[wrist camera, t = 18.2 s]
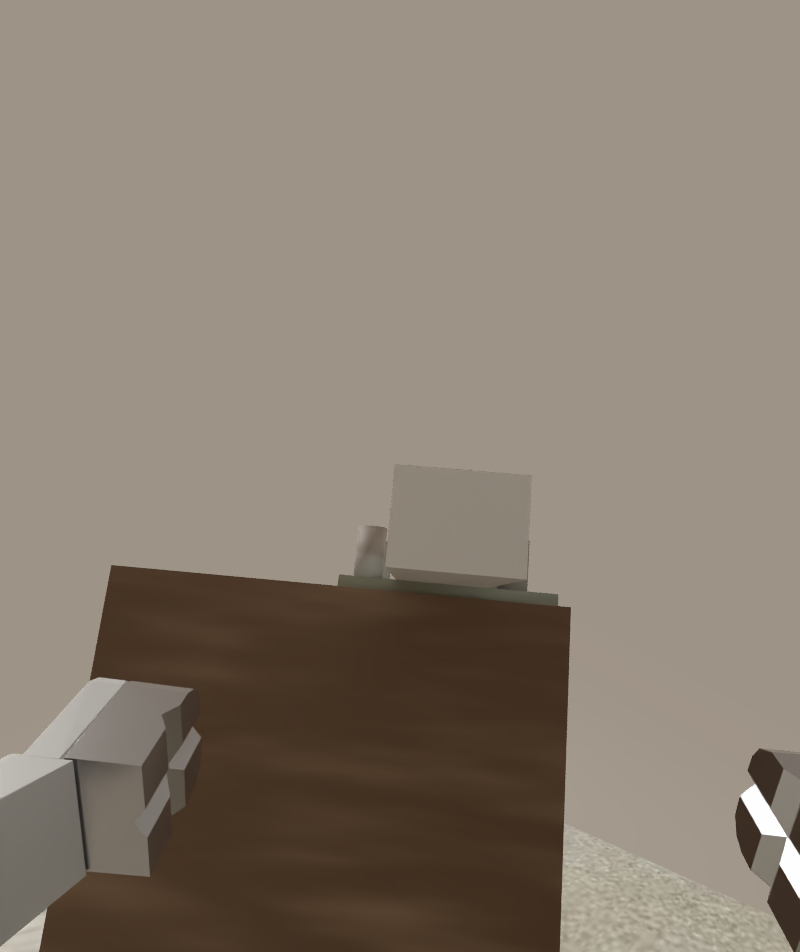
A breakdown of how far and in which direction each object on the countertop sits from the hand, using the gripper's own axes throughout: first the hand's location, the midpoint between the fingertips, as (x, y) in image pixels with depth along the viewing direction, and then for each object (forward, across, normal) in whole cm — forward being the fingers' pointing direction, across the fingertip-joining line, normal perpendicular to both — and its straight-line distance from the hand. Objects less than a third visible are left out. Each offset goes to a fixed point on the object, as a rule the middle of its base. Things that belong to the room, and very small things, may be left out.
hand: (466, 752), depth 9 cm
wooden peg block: (+9, +4, +32) cm, 34 cm away
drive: (+18, 0, +7) cm, 19 cm away
